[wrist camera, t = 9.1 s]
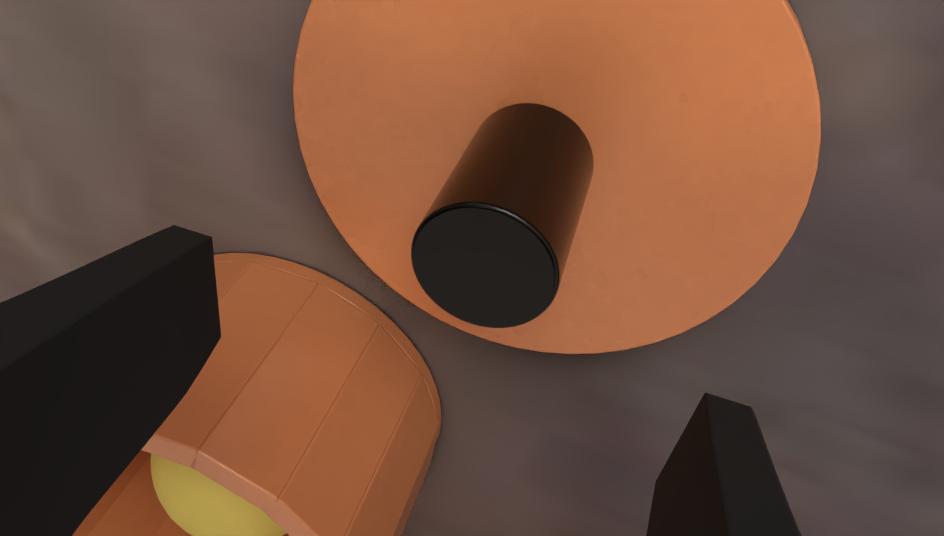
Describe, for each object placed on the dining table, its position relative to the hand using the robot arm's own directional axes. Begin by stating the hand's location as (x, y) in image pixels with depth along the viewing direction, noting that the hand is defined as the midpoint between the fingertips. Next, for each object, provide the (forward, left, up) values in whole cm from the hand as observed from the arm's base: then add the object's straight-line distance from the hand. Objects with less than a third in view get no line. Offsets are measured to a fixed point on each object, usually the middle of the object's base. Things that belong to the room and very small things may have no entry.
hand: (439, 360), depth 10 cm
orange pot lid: (0, 0, -7) cm, 7 cm away
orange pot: (-11, +6, -7) cm, 15 cm away
